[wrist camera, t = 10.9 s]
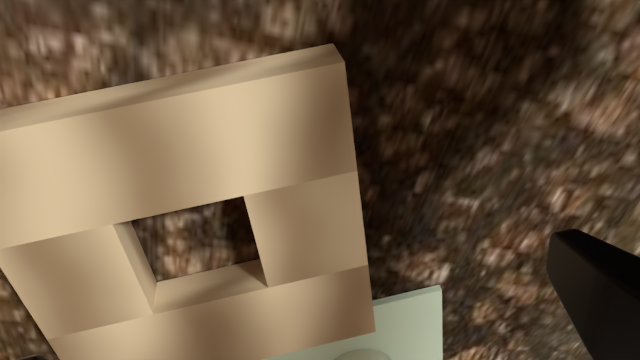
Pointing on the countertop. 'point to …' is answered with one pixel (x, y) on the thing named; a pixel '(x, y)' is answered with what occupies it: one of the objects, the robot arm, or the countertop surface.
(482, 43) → the countertop surface
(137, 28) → the countertop surface
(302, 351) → the plate
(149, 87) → the pocket block
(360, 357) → the ceramic cylinder
